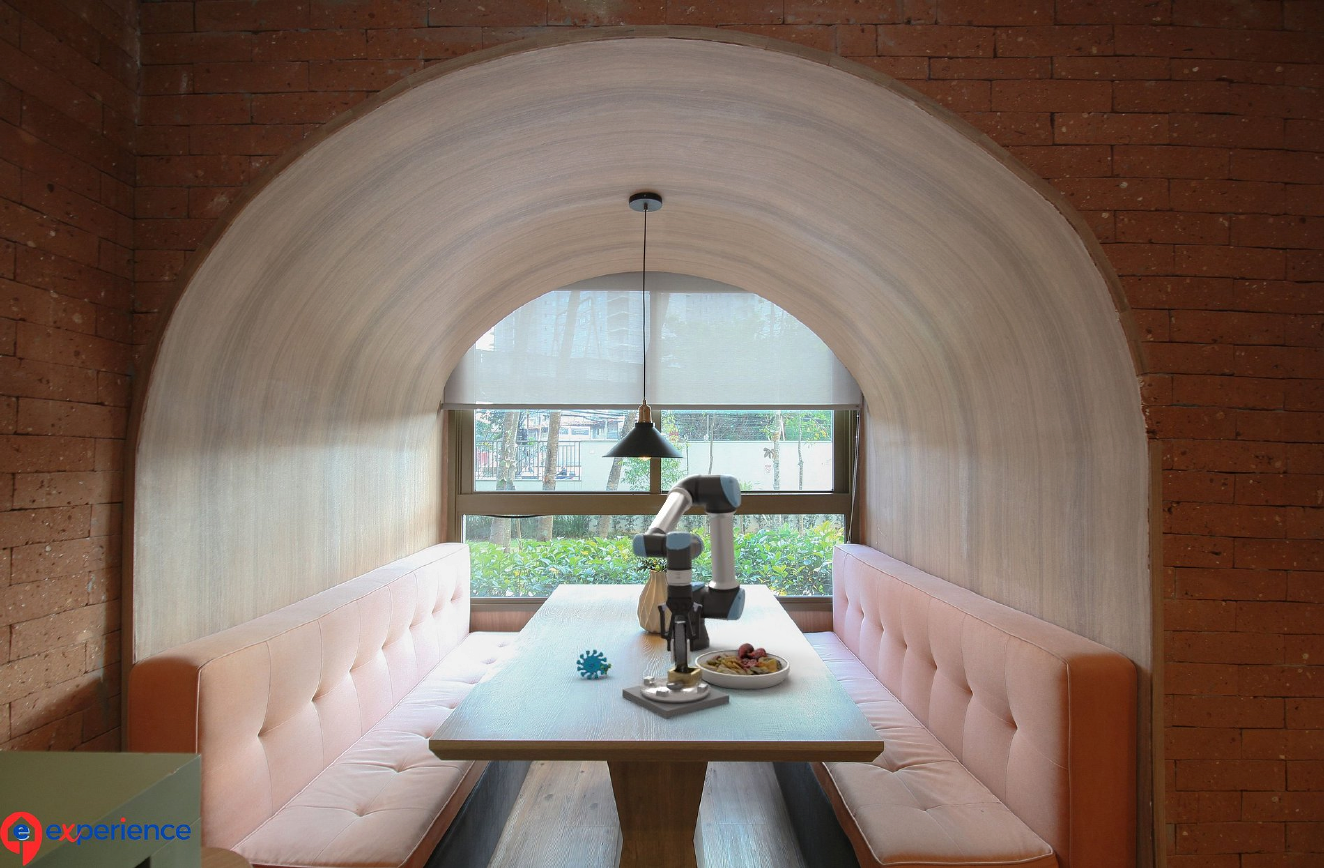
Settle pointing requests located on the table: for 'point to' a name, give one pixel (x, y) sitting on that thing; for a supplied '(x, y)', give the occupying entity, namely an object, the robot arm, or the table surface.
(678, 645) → the pin
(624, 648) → the table surface
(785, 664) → the bowl
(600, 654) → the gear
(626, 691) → the nut plate
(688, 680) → the silver disc with box
